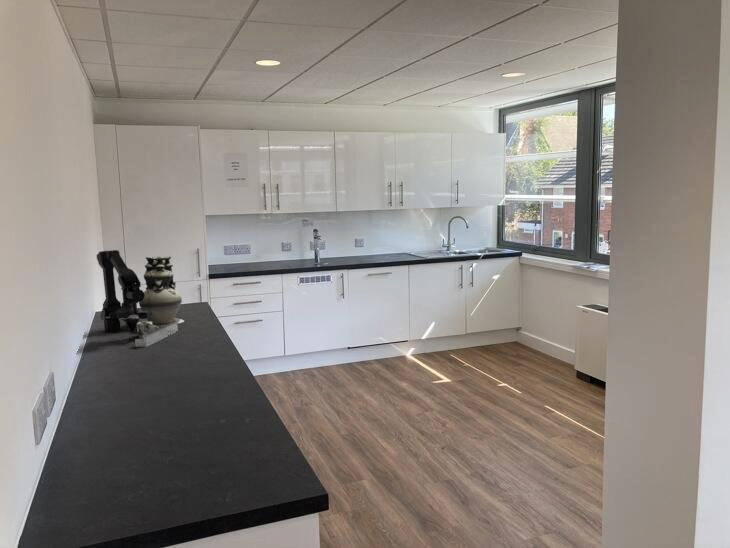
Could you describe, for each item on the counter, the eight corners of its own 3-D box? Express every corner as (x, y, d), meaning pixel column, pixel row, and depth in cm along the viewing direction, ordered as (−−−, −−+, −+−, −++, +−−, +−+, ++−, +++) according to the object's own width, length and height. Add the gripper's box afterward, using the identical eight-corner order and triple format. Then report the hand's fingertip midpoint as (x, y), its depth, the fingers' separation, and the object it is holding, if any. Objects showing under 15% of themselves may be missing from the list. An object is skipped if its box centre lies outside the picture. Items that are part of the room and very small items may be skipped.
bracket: (135, 346, 260) (134, 335, 259) (167, 331, 289) (167, 321, 288) (147, 346, 259) (147, 335, 258) (178, 331, 288) (178, 321, 287)
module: (137, 332, 288) (136, 322, 287) (140, 330, 292) (139, 320, 291) (150, 332, 288) (149, 322, 287) (152, 330, 292) (152, 320, 291)
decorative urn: (167, 318, 323) (162, 254, 319) (192, 321, 310) (187, 254, 307) (132, 325, 306) (126, 258, 302) (157, 328, 293) (151, 258, 290)
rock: (163, 338, 273) (162, 323, 273) (139, 341, 269) (138, 326, 269) (160, 333, 287) (159, 318, 286) (137, 335, 283) (136, 321, 282)
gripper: (100, 302, 267) (103, 336, 269) (139, 302, 264) (142, 337, 266) (114, 298, 278) (117, 331, 280) (151, 298, 275) (154, 331, 277)
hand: (132, 332), depth 275 cm, fingers closed
